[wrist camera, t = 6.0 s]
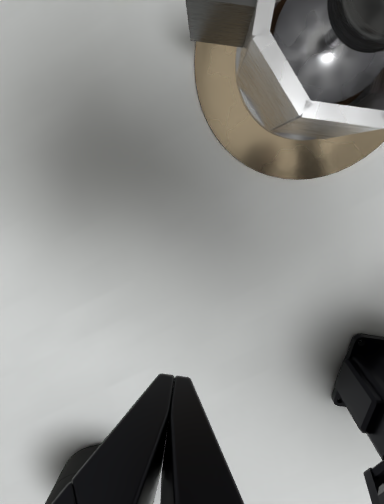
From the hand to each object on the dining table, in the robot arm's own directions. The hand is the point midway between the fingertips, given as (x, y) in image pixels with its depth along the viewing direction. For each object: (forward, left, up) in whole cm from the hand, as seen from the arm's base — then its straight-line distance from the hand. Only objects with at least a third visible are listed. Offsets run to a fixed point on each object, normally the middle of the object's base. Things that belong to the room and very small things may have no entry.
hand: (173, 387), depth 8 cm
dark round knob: (-5, -12, -10) cm, 16 cm away
